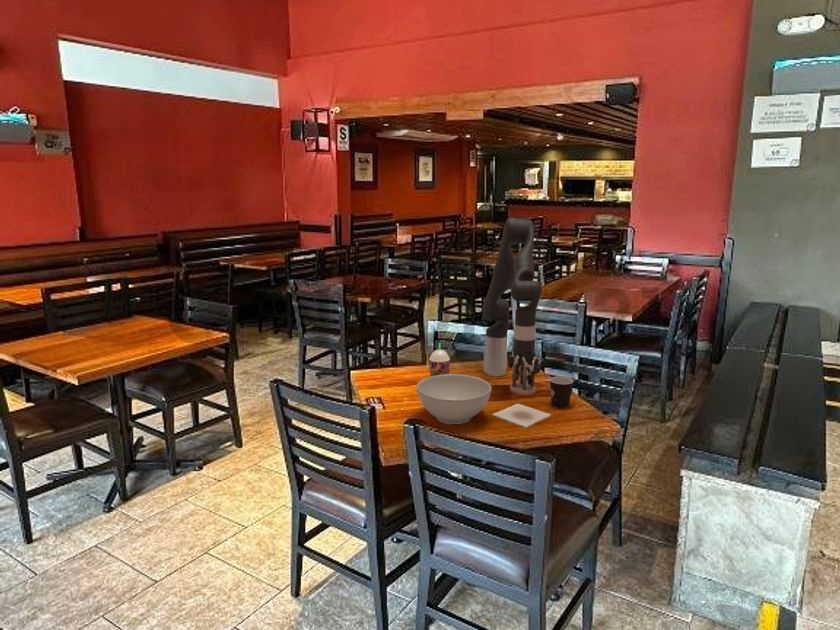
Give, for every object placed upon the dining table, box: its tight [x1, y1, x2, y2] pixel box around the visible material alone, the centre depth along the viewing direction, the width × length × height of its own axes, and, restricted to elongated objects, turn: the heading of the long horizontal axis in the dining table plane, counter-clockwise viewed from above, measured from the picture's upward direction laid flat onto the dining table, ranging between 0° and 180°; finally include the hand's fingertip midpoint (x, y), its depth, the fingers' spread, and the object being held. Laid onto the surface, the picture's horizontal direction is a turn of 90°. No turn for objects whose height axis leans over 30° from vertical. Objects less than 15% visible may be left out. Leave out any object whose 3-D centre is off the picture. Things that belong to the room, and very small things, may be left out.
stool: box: [509, 364, 537, 396], centre depth 213 cm, size 9×9×10 cm
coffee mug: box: [549, 376, 574, 409], centre depth 227 cm, size 12×9×10 cm
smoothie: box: [428, 342, 451, 377], centre depth 240 cm, size 8×8×20 cm
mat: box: [491, 403, 552, 429], centre depth 216 cm, size 15×15×1 cm
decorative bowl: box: [415, 373, 493, 425], centre depth 214 cm, size 27×27×12 cm
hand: (523, 382), depth 213 cm, fingers closed on stool, 5 cm apart
